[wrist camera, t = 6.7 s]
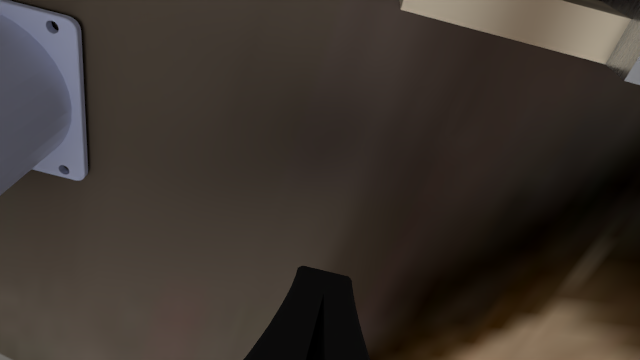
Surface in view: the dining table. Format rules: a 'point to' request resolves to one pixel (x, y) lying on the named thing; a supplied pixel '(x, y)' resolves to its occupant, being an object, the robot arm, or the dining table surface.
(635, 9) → the grey h-shaped piece
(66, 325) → the dining table surface
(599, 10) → the pair of beige bars
